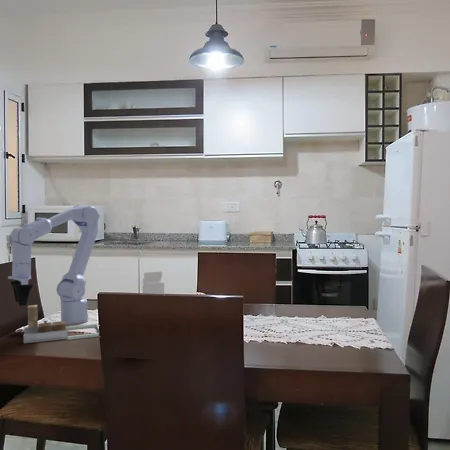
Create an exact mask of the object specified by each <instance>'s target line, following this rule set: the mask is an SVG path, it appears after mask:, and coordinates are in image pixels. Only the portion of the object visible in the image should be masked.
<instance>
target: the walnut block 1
mask: <svg viewBox="0 0 450 450" xmlns="http://www.w3.org/2000/svg"><path fill="white" fill-rule="evenodd" d="M52 325H53V324H52V322H47V323H44V322H43V323H42V322H41V323H38V333H39V332H49V331H52Z"/></svg>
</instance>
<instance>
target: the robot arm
mask: <svg viewBox="0 0 450 450" xmlns="http://www.w3.org/2000/svg"><path fill="white" fill-rule="evenodd" d="M99 219H100V214H99V211H98V210H97V208H96V207H95V206H93V205H86V206H85V205H83V206H82V205H75V206H72V207H68V208H67V209H66V210H64V211H61V212H58V213H57V214H55V215H53V216H51V217H49V218H46V217H35V221H32V222H29V223H27V222H26V223H24V224H23V227H22V226H19V227H18V226H17V227H15V228H13V229H12V231H11V232H10V235H8V238H9V240H10V242H11V244H12V259H11V261H12V262H11V263H12V264H11V265H12V266H11V269H12V270H11V272H12V273H11V276H7V279H9V280H11V281H9V283H10V285H11V287H12V291H13V295H14V300H15V302H16V303H17V302H18V305H19V306H21V307H22V306H27V304H28V300H29V295H30V293H31V290H32V288H33V287H34V285H33V283H30V284H29V280H31V279H32V275H31V273H32V244H34V242H35V240H37V239H38V238H41V237H43V236H45V235H47V234H49V233H51V232H52V229H53V228H54V227H57V226H59V225H62V224H64V223H66V222H69V221H72V222H73V223H74V224H75V225H76V226H77V227H78V228H79V230H80V231H81V235H80V238H79V240H78V243H77V246H76V249H75V253H74V255H73V258H72V260H71V263H70V266H69V269H68V271H67V273H65V274H64V275H63V276H62V279H61V281H60V282H59V283H58V284H57V286H56V293H57V295H58V297H59V299H60V322H61V321H65V323H66V325H72V324H73V325H74V324H79V323H80V324H81V323H87V322H89V320H88V319H89V313H88V300H87V298H83V297H84V296H85V294H86V283H87V281H86V279H85V277H84V274H85V272H86V269H87V265H88V263H89V261H90V256H91V253H92V250H93V249H94V246H95V245H94V244H95V242H96V239H97V235H98V232H99V227H98V226H99V224H98V223H99Z"/></svg>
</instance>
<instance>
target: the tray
mask: <svg viewBox="0 0 450 450" xmlns="http://www.w3.org/2000/svg"><path fill="white" fill-rule="evenodd" d="M98 324H99V323H89V324H79V325H69V326H66V330H67V331H69V330H79V329H80V330H81V329H89V328H96V330H97V331H98ZM98 337H100V336H99V332H97V333H95V332H94V333H86V334H76V335H67V340H68V341H70V340H79V339H89V338H98Z"/></svg>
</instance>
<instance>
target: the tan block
mask: <svg viewBox="0 0 450 450" xmlns="http://www.w3.org/2000/svg"><path fill="white" fill-rule="evenodd" d="M38 316H39V315H38V304H33V305H32V304H31V305H30V304H29V305H27V327H34V326H38V324H39V323H38V322H39V320H38ZM43 323H48V322H47V320H44V321H43Z"/></svg>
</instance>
